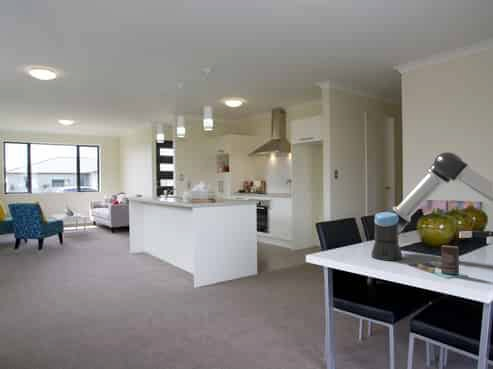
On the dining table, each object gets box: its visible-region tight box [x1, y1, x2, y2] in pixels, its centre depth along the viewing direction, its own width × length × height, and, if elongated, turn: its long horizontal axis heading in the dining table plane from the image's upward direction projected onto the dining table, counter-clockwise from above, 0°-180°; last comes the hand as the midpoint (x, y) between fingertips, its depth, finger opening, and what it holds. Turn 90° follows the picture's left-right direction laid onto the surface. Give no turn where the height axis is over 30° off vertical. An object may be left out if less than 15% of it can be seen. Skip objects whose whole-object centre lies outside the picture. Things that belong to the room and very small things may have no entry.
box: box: [440, 244, 460, 276], centre depth 148 cm, size 6×4×12 cm
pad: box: [432, 271, 469, 279], centre depth 148 cm, size 8×11×1 cm
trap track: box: [408, 262, 442, 274], centre depth 159 cm, size 15×11×2 cm
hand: (473, 237), depth 150 cm, fingers open, 13 cm apart
